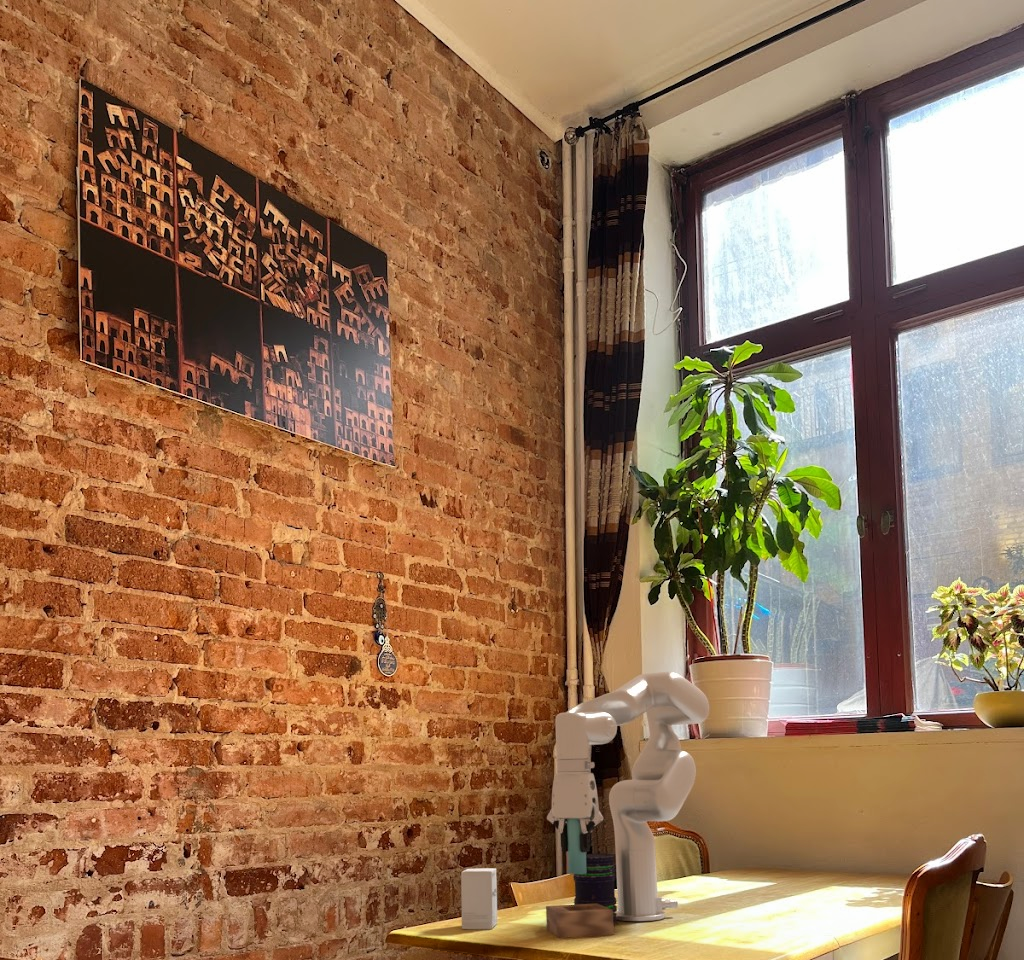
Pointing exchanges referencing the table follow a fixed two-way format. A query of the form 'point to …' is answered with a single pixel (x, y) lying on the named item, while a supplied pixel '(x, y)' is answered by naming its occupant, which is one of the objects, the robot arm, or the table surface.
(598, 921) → the brown wooden base
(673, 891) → the table surface
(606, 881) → the storage jar
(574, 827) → the teal peg
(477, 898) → the supplement box
